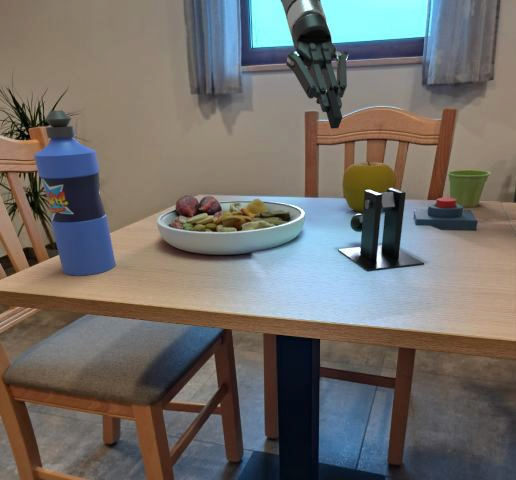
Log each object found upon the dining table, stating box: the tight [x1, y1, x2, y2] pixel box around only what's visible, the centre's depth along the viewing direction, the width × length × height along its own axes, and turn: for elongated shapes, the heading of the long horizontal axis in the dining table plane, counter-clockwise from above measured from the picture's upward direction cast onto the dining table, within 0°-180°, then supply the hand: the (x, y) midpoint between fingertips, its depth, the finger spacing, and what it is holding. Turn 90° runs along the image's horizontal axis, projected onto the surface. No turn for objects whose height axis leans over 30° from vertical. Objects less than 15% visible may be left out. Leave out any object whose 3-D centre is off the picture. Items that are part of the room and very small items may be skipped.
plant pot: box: [447, 169, 491, 208], centre depth 111 cm, size 9×9×9 cm
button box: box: [412, 202, 478, 232], centre depth 100 cm, size 12×10×4 cm
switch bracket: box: [337, 188, 425, 272], centre depth 77 cm, size 12×10×12 cm
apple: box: [341, 161, 397, 213], centre depth 114 cm, size 13×13×11 cm
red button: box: [435, 197, 457, 208], centre depth 99 cm, size 4×4×2 cm
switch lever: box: [349, 192, 395, 233], centre depth 80 cm, size 13×3×3 cm
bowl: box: [156, 194, 306, 256], centre depth 95 cm, size 30×30×8 cm
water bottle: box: [33, 110, 116, 277], centre depth 77 cm, size 9×9×25 cm
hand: (336, 123), depth 88 cm, fingers closed
